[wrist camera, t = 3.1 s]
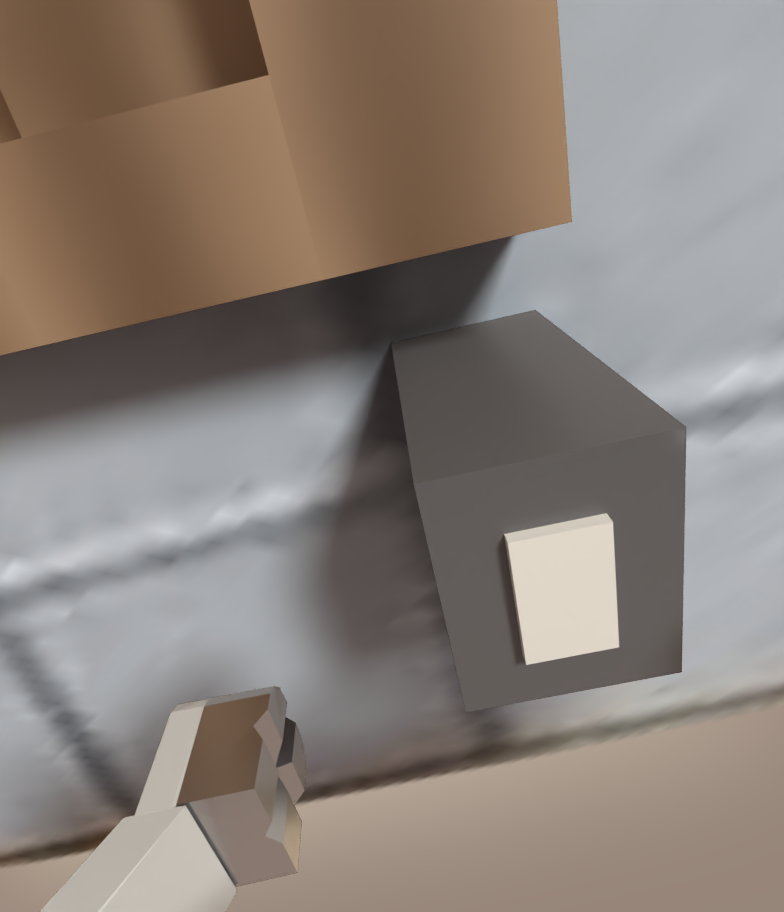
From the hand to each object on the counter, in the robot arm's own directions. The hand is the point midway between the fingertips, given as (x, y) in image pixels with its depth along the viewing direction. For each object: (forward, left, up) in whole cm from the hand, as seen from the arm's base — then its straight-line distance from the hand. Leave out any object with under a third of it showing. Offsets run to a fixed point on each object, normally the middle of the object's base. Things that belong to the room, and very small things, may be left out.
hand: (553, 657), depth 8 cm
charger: (-1, 0, -9) cm, 9 cm away
